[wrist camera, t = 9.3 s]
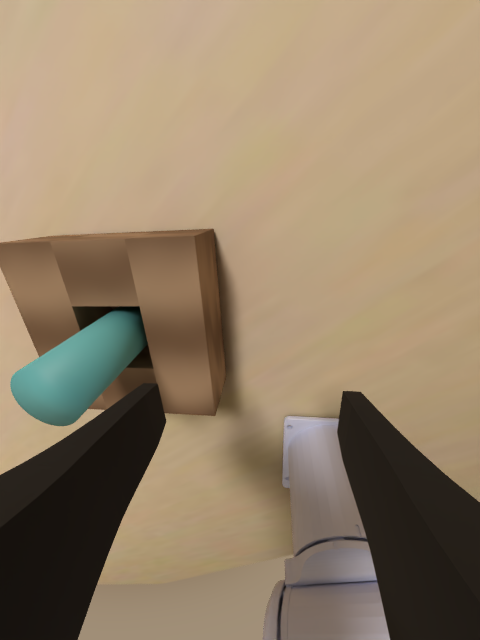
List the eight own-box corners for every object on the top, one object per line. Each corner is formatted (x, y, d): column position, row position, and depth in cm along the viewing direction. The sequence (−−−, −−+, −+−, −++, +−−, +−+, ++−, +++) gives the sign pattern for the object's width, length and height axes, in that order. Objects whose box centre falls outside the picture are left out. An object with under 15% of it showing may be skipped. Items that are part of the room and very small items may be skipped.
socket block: (226, 376, 22) (215, 415, 18) (98, 372, 23) (61, 407, 19) (213, 228, 17) (194, 236, 13) (53, 235, 18) (-10, 244, 14)
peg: (167, 336, 20) (89, 429, 11) (128, 334, 20) (26, 422, 12) (160, 297, 18) (68, 370, 10) (119, 296, 19) (-2, 365, 11)
